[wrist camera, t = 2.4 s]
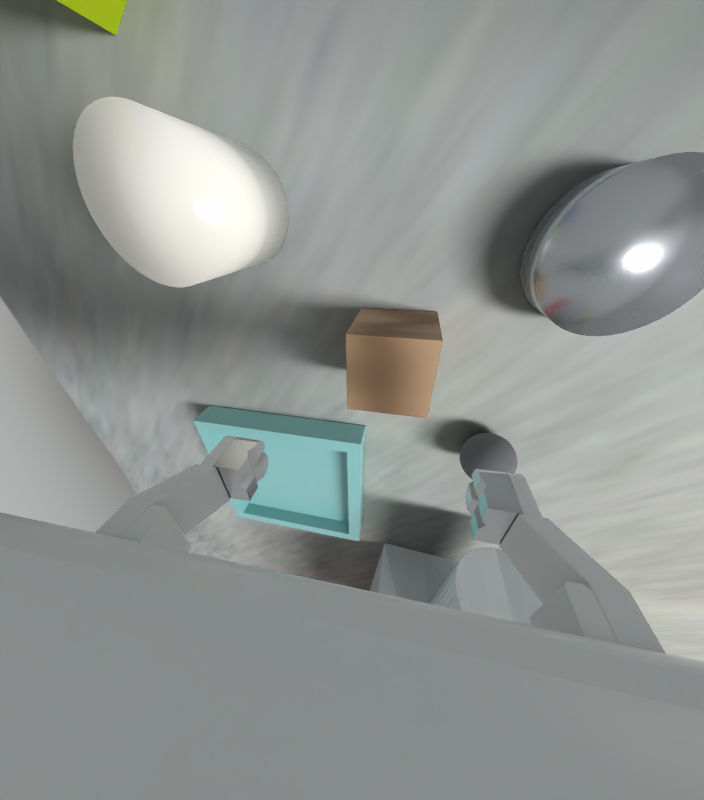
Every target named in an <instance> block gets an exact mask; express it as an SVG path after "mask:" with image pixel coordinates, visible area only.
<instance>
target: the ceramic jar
mask: <svg viewBox="0 0 704 800" xmlns="http://www.w3.org/2000/svg"><path fill="white" fill-rule="evenodd" d="M73 161H74V167H75V173H76V177H77V181H78V185H79V187H80V190H81V193H82V196H83V199H84V201H85V203H86V206H87V208H88V210H89V212H90V214H91V216H92V218H93V220H94V221H95V223H96V225H97V226H98V228H99V230H100V231H101V233H102V234H103V235H104V237H105V238H106V240H107V241H108V242H109V244H110V245H111V246H112V247H113V249H114V250H115V251H116V252H117V253H118V254H119V255H120V256H121V257H122V258H123V259H124V260H125V261H126V262H127V263H128V264H129V265H130V266H132V267H133V268H134V269H135V270H137V271H138V272H139V273H141V274H142V275H144V276H145V277H147V278H149V279H151V280H153V281H155V282H157V283H160V284H162V285H166V286H170V287H188V286H192V285H195V284H199V283H202V282H205V281H208V280H211V279H214V278H218V277H221V276H224V275H227V274H230V273H233V272H237V271H240V270H243V269H246V268H249V267H252V266H255V265H259V264H262V263H265V262H267V261H269V260H271V259H272V258H273V257H274V256H276V255H277V253H278V252H279V251H280V250H281V248H282V246H283V244H284V242H285V239H286V236H287V232H288V225H289V214H288V205H287V200H286V196H285V193H284V190H283V187H282V184H281V182H280V180H279V178H278V176H277V175H276V173H275V171H274V170H273V168H272V167H271V166H270V164H269V163H268V162H267V161H266V160H265V159H264V158H263V157H262V156H261V155H260V154H259V153H258V152H256V151H255V150H253V149H252V148H250V147H248V146H246V145H243V144H241V143H238V142H236V141H233V140H231V139H228V138H226V137H223V136H221V135H218V134H215V133H213V132H210V131H208V130H205V129H203V128H200V127H198V126H195V125H193V124H190V123H188V122H185V121H183V120H180V119H177V118H175V117H172V116H170V115H167V114H165V113H162V112H160V111H157V110H155V109H152V108H150V107H147V106H144V105H142V104H139V103H137V102H134V101H132V100H129V99H125V98H121V97H105V98H100V99H98V100H96V101H94V102H92V103H90V104H89V105H88V106H87V107H86V108H85V109H84V110H83V112H82V114H81V115H80V117H79V119H78V121H77V124H76V127H75V131H74V136H73Z"/></svg>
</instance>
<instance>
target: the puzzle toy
mask: <svg viewBox="0 0 704 800" xmlns="http://www.w3.org/2000/svg"><path fill="white" fill-rule="evenodd" d="M57 1H58V2H60V3H62V4H63V5H65V6H67V7H68V8H70V9H72V10H74V11H75V12H77V13H79V14H80V15H82V16H84V17H85V18H87V19H89V20H91V21H92V22H94V23H96V24H97V25H99V26H101V27H102V28H104V29H106V30H108V31H109V32H111V33H113V34H114V35H116V34H117V31H118V27H119V24H120V21H121V18H122V15H123V11H124V8H125V5H126V2H127V0H57Z"/></svg>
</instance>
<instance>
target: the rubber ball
mask: <svg viewBox="0 0 704 800" xmlns="http://www.w3.org/2000/svg"><path fill="white" fill-rule="evenodd" d="M460 463H461V466H462V468H463V470H464V471H465V473H466V474H467V475H468V476H469V477H470V478H471V479H472V474H473V472H474V470H475V469H481V470H489V471H497V472H505V473H513V474H514V473H515V470H516V468H517V456H516V452H515V450H514V448H513V447H512V446H511V444H510V443H509V442H508V441H507V440H505V439H504V438H502V437H501V436H498V435H496V434H492V433H479V434H476V435H473V436H471V437H470V438H468V439H467V440H466V441H465V442H464V444H463V446H462V448H461V450H460Z"/></svg>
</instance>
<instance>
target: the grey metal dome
mask: <svg viewBox="0 0 704 800" xmlns="http://www.w3.org/2000/svg"><path fill="white" fill-rule="evenodd" d="M520 279H521V285H522V288H523V291H524V294H525V296H526V297H527V299H528V300H529V302H530V303H531V304H532V305H533V306H534V307H535V308H536V309H538V310H539V311H540V312H541V313H543V314H544V315H545V316H546V317H547V318H549V319H550V320H551V321H552V322H554V323H555V324H556V325H558V326H559V327H561V328H563V329H565V330H567V331H569V332H572V333H576V334H580V335H587V336H605V335H613V334H618V333H623V332H627V331H630V330H634V329H637V328H640V327H642V326H645V325H648V324H650V323H652V322H654V321H656V320H658V319H660V318H662V317H664V316H666V315H668V314H669V313H671V312H673V311H674V310H676V309H677V308H679V307H680V306H682V305H684V304H685V303H686V302H688V301H689V300H690V299H691V298H693V297H694V296H695V295H697V294H698V293H699V292H700V291H701V290H702V289H703V288H704V153H701V152H685V153H676V154H670V155H666V156H662V157H658V158H653V159H649V160H645V161H640V162H636V163H632V164H628V165H623V166H619V167H615V168H611V169H609V170H606V171H603V172H600V173H598V174H596V175H594V176H592V177H590V178H588V179H586V180H585V181H583V182H581V183H580V184H578V185H577V186H575V187H574V188H573V189H571V190H570V191H568V192H567V193H566V194H565V195H564V196H562V197H561V198H560V199H559V200H558V201H557V202H556V203H555V204H554V205H553V206H552V207H551V208H550V209H549V210H548V211H547V212H546V214H545V215H544V216H543V217H542V219H541V220H540V221H539V223H538V224H537V226H536V227H535V229H534V230H533V232H532V234H531V236H530V238H529V240H528V242H527V245H526V247H525V250H524V253H523V257H522V260H521V268H520Z"/></svg>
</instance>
